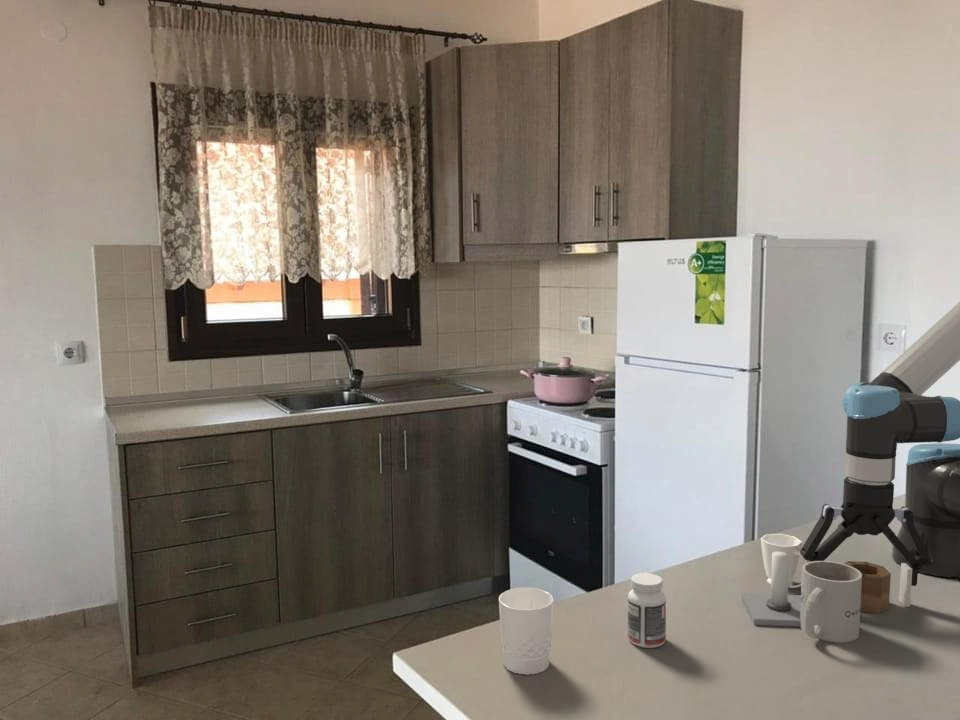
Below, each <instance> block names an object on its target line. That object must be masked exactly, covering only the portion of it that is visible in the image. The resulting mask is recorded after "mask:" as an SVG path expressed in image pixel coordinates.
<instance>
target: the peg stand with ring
mask: <svg viewBox="0 0 960 720" xmlns="http://www.w3.org/2000/svg"><path fill="white" fill-rule="evenodd" d="M788 571H789V554H787V553H785V552H773V553H772V573H771V585H770V594H769V593H767V594H765V593H746V592H745V593H742V592H741V601H742V603H743V605H744V607H745V609H746V611H747V613H748V616H749V618H750V620H751V622H752V624H753V625H754V626H771V627H772V626H777V627H799V628H800V607H801V594H800V595H796V594H795V595H794V594H789V587H788Z"/></svg>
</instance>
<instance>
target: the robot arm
mask: <svg viewBox="0 0 960 720" xmlns="http://www.w3.org/2000/svg"><path fill="white" fill-rule="evenodd" d="M959 361H960V301H959V302H957V303H955V305H954V306H953V307H952V308H951V309H950V310H949V311H947V312H946V313H945V314H944V315H943V316H942V317H941V318H940V319H939V320H938V321H937V322H936V323H935V324H933V325H932V326H931V327H930V328H929V329H928V330H927V331H926V332H924V333H923V334H922V335H921V336H920V337H919V338H918V339H917V340H916V341H915V342H914V343H912V344H911V345H910V346H909V347H908V348H907V349H905V351H903V353H902V354H900V355H899V356H898V357H897V358H896V359H895V360H894V361H893V362H892V363H891V364H890V365H888V366H887V367H886V368H885V369H884V370H883V371H881V372H880V374H878V375H877V376H876V377H874V379H873V380H871V382H868V381H867V382H866V381H863V382H856V383H853V384H852V385H850V386H849V387H848V388H847V389H846V391H845V392H844V394H843V398H842V407H843V410H844V413H845V414H846V437H845V439H846V440H845V441H846V442H845V459H844V461H845V462H844V475H845V476H846V477H845V478H844V480H843V491H842V492H843V495H842V505H841V506H840V507H836V506H831V505H829V504H828V503H824V504H823V505H822V507H821V508H822V509H821V513H820V517H819V518H818V520H817V522H816V524H815V525H814V527H813V528H812V530H811V532H810V534H809V535H808V536H807V539H806V540H805V542H804V544H802V545H803V546H801V550H800V554H801V555H802V556H801V555H800V556H801V557H802V558H803V559H804V561H805V560H809V561H811V562H812V561H826V560H827V559H828V558H829V556H830V555H831V554H833V553H834V551H835V550H837V548H839V546H841V544H843V543H844V542H845V541H846V539H848V538H850V537H852V535H854V534H857V535H858V536H865V535H870V536H878V535H880V534H883V535H884V536H885V538H886V539H887V540H888V541H889V542H890V544H891V545H892V553H891V554H892V556H891V557H892V559H893V560H894V562H895V563H897V564H898V565H899V566H900V574H899V575H900V578H899V589H898V590H899V593H898V600H899V602H900V603H901V604H902V605H903V606H904V607H905V608H909V607H911V594H912V587H916V586H917V584H918V576H919V575H918V574H919V573H922V574H925V575H929V574H930V575H931V576H934V575H935V577H941V576H943V578H952V577H960V443H946V442H949V441H950V442H951V441H956V440H958V439H960V400H959V399H958V398H956V397H953V396H941V395H936V396H926V395H923V394H924V393H925V392H927V391H928V390H929V389H930V388H931V387H932V386H933V385H934V384H935V383H936V382H938V381H939V380H940V379H941V378H942V377H943V376H944V375H946V373H947V372H949V371H950V370H952V368H953V367H954V366H955V365H957V363H959ZM943 442H945V443H943ZM917 443H921V444H917ZM898 444H916V445H914V446H912V447H910V449H909V450H908V454H907V461H906V464H905V467H906V469H905V470H906V472H905V495H904V496H905V499H904V506H903V505H902V506H901V507H900V508H896V509H895V508H893V505H894V494H895V493H894V492H895V491H894V490H895V484H894V483H893V481H894V480H895V479H896V478H895V477H896V460H897V459H896V458H897V457H896V456H897V449H898ZM839 516H840V517H842V519H843V520H842V521H841V522H840V523H839V524H838V525H837V528H836V529H835V530H833V532H832V533H831V534H830V535H829V536H828V537H826V539H824V538H825V536H826V534H827V533H828V530H830V528H831V526H832V524H833V521H835V520H836V519H838V518H837V517H839ZM895 518H896V519H897V520H898V521H899V522H900V523H901V527H900V528H899V531H898V533H897V535H896V533H895V532H894V531H893V530H892V528H891V527H890V526H889V525H890V524H891V523H892V522H893V520H894V519H895ZM823 539H824V541H823ZM822 541H823V542H822ZM821 542H822V543H821ZM930 575H929V576H930Z"/></svg>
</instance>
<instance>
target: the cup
mask: <svg viewBox="0 0 960 720" xmlns="http://www.w3.org/2000/svg"><path fill="white" fill-rule="evenodd" d="M760 544H761V552H762V559H763V566H764V570H765V575H766V577H768V578H767V579H766V582H767V584H769V585H770V586H771V573H772V553H773V552H785V553H787V554H789V571H788V589H795V588H796V589H797V588H801V583H799V584H797V585H796V584H795V585H793V583H794V582H793V581H792V580H793V579H794V578H795V574H796V572H797V568H798V564H799V558H800V556H801V557H803V556H802V555H801V554H800V550H801V549H802V545H803V541H802V540H801V539H799V538H798V537H796V536H794V535H789V534H784V533H769V534H768V533H767V534H764V535H763V536H762V537H761V538H760ZM804 561H805V562H806V563H808V562H811V561H809V560H805V559H804Z"/></svg>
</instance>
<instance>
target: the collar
mask: <svg viewBox="0 0 960 720" xmlns="http://www.w3.org/2000/svg"><path fill="white" fill-rule="evenodd" d="M842 564H846V565H849V566H851V567H854V568H856V569H857V570H859V571H860V572H861V574H862V586H861V607H860V613H872V614H873V613H877V614H880V613H883V612H884V611H887V610H888V609H890V597H891V596H890V593H891V592H890V591H891V575H892V573H891V572H890V571H889V570H888V569H887V568H886V567H885V566H883V565H881V564H876V563H872V562H868V561H857V560H856V561H855V560H854V561H853V560H850V561H849V560H847V561H845V562H843V563H842Z"/></svg>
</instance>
